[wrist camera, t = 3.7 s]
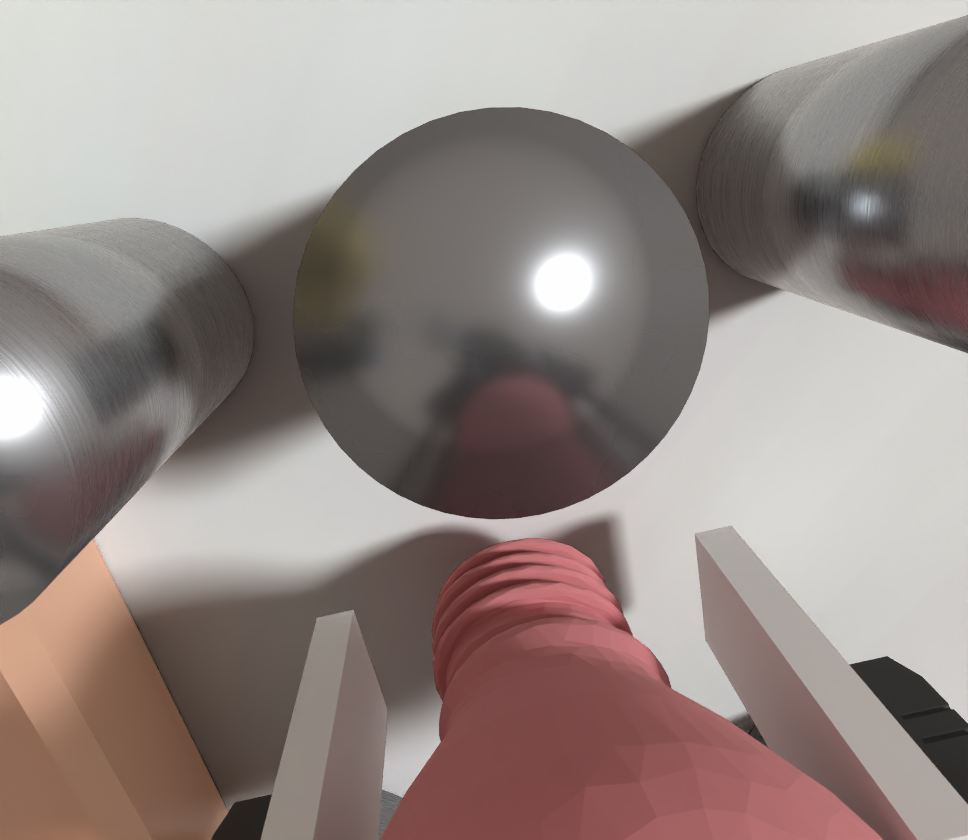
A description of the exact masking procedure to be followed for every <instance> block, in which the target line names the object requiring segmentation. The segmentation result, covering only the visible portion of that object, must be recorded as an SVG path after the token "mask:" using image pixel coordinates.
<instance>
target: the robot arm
mask: <svg viewBox="0 0 968 840" xmlns="http://www.w3.org/2000/svg"><path fill="white" fill-rule="evenodd" d="M695 541H696V550H697V560H698V570H699V579H700V589H701V599H702V609H703V618H704V628H705V638H706V641H707V643H708V645H709V647H710V648H711V650H712V652H713V653H714V655H715V657H716V659H717V660H718V662H719V664H720V665H721V667H722V669H723V670H724V672H725V674H726V676H727V677H728V679H729V681H730V682H731V684H732V686H733V688H734V689H735V691H736V693H737V694H738V696H739V698H740V699H741V701H742V703H743V705H744V706H745V708H746V710H747V711H748V713H749V715H750V717H751V718H752V720H753V722H754V723H755V725H756V727H757V728H758V730H759V732H760V734H761V735H762V737H763V739H764V740H765V742H766V744H767V746H768V747H769V749H770V750H772V751H773V752H775V753H776V754H778V755H779V756H780V757H782V758H783V759H785V760H786V761H788V762H789V763H791V764H792V765H793V766H795V767H796V768H798V769H799V770H801V771H802V772H803V773H805V774H806V775H808V776H809V777H811V778H812V779H814V780H815V781H816V782H818V783H819V784H821V785H822V786H824V787H825V788H827V789H828V790H829V791H831V792H832V793H833V794H834V795H835V796H836V797H838V798H839V799H840V800H841V801H842V802H843V803H844V804H845V805H846V806H848V807H849V808H850V809H851V810H852V811H853V812H854V813H855V814H856V815H858V816H859V817H860V818H861V819H862V820H863V821H864V822H865V823H866V824H868V825H869V826H870V827H871V828H872V829H873V830H874V831H875V832H876V833H877V834H878V835H879V836H880V837H881V838H882V839H883V840H968V723H967V722H966V721H965V720H964V719H963V718H962V717H961V716H960V715H959V714H958V713H957V712H956V711H955V710H954V709H953V710H951V709H950V707H949V704H948V703H947V702H946V701H945V700H944V699H943V698H942V697H941V696H940V695H939V694H938V693H937V692H936V690H935V689H934V688H933V687H932V686H931V685H930V684H929V683H928V682H927V681H926V680H925V679H924V678H923V677H922V676H920V675H918V674H917V673H915V672H913V671H911V670H910V669H908V668H906V667H905V666H903V665H901V664H899V663H898V662H896V661H894V660H893V659H891V658H889V657H887V656H886V657H882V658H877V659H873V660H868V661H863V662H859V663H854V664H850V665H849V664H848V663H847V662H846V660H845V659H844V658H843V657H842V656H841V654H840V653H839V652H838V651H837V650H836V649H835V647H834V646H833V645H832V644H831V643H830V641H829V640H828V639H827V638H826V637H825V636H824V634H823V633H822V632H821V631H820V630H819V628H818V627H817V626H816V625H815V624H814V623H813V621H812V620H811V619H810V618H809V617H808V615H807V614H806V613H805V612H804V611H803V610H802V608H801V607H800V606H799V605H798V604H797V603H796V601H795V600H794V599H793V598H792V597H791V595H790V594H789V593H788V592H787V591H786V590H785V588H784V587H783V586H782V585H781V584H780V582H779V581H778V580H777V579H776V578H775V577H774V575H773V574H772V573H771V572H770V571H769V569H768V568H767V567H766V566H765V565H764V564H763V562H762V561H761V560H760V559H759V558H758V557H757V555H756V554H755V553H754V552H753V551H752V549H751V548H750V547H749V546H748V545H747V544H746V542H745V541H744V540H743V539H742V538H741V536H740V535H739V534H738V533H737V532H736V531H735V529H734V528H733V527H732V526H728V527H724V528H719V529H715V530H710V531H706V532H701V533H696V534H695ZM387 717H388V709H387V706H386V703H385V700H384V697H383V695H382V692H381V689H380V686H379V683H378V680H377V677H376V674H375V671H374V668H373V665H372V662H371V660H370V657H369V654H368V651H367V648H366V645H365V642H364V639H363V636H362V633H361V630H360V627H359V624H358V622H357V619H356V616H355V613H354V610H350V611H345V612H341V613H336V614H332V615H327V616H323V617H318V618H317V619H316V623H315V627H314V631H313V635H312V639H311V643H310V647H309V651H308V655H307V659H306V663H305V667H304V671H303V675H302V679H301V682H300V686H299V690H298V694H297V698H296V702H295V706H294V710H293V714H292V718H291V722H290V726H289V730H288V734H287V738H286V741H285V745H284V749H283V753H282V757H281V761H280V765H279V769H278V773H277V777H276V781H275V785H274V789H273V793H272V794H271V795H267V796H262V797H258V798H253V799H249V800H244V801H240V802H235V803H234V805H233V806H232V808H231V809H230V811H229V812H228V814H227V815H226V817H225V818H224V820H223V821H222V822H221V824H220V825H219V827H218V828H217V830H216V831H215V833H214V834H213V836H212V839H211V840H378V831H379V819H380V806H381V793H382V781H383V768H384V755H385V742H386V730H387Z"/></svg>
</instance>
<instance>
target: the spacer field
mask: <svg viewBox="0 0 968 840" xmlns="http://www.w3.org/2000/svg"><path fill="white" fill-rule="evenodd" d="M697 207H698V213H699V218H700V221H701V225H702V228H703V231H704V233H705V235H706V238H707V240H708V242H709V243H710V245H711V246H712V248H713V250H714V251H715V252H716V253H717V255H718V256H719V257H720V258H721V259H722V260H723V261H724V262H725V263H726V264H727V265H728V266H730V267H731V268H732V269H734V270H735V271H737V272H738V273H740V274H742V275H744V276H746V277H749V278H751V279H754V280H756V281H759V282H762V283H765V284H768V285H771V286H774V287H777V288H780V289H783V290H786V291H788V292H791V293H794V294H797V295H800V296H803V297H806V298H809V299H812V300H815V301H818V302H820V303H823V304H826V305H829V306H832V307H835V308H838V309H841V310H844V311H847V312H850V313H852V314H855V315H858V316H861V317H864V318H867V319H870V320H873V321H876V322H879V323H882V324H884V325H887V326H890V327H893V328H896V329H899V330H902V331H905V332H908V333H911V334H914V335H916V336H919V337H922V338H925V339H928V340H931V341H934V342H937V343H940V344H943V345H946V346H948V347H951V348H954V349H957V350H960V351H963V352H966V353H968V15H967V16H964V17H960V18H957V19H953V20H950V21H947V22H943V23H940V24H937V25H933V26H930V27H926V28H923V29H920V30H916V31H913V32H909V33H906V34H903V35H899V36H896V37H893V38H889V39H886V40H882V41H879V42H876V43H872V44H869V45H866V46H862V47H859V48H855V49H852V50H849V51H845V52H842V53H838V54H835V55H832V56H828V57H825V58H822V59H818V60H815V61H811V62H808V63H805V64H801V65H798V66H794V67H791V68H788V69H784V70H781V71H779V72H776V73H774V74H772V75H770V76H768V77H766V78H764V79H762V80H761V81H759V82H758V83H756V84H754V85H753V86H752V87H750V88H749V89H748V90H747V91H745V92H744V93H743V94H742V95H741V96H740V97H739V98H738V99H737V100H736V101H735V102H734V103H733V104H732V105H731V106H730V107H729V108H728V110H727V111H726V112H725V113H724V115H723V116H722V117H721V119H720V120H719V122H718V123H717V125H716V127H715V128H714V130H713V132H712V134H711V136H710V138H709V140H708V142H707V144H706V147H705V150H704V153H703V156H702V159H701V163H700V167H699V172H698V179H697ZM708 323H709V290H708V284H707V277H706V270H705V264H704V261H703V257H702V254H701V251H700V247H699V244H698V240H697V237H696V235H695V233H694V231H693V228H692V226H691V224H690V222H689V220H688V217H687V215H686V213H685V211H684V210H683V208H682V207H681V205H680V203H679V202H678V200H677V199H676V197H675V195H674V194H673V192H672V191H671V189H670V188H669V187H668V186H667V184H666V183H665V182H664V181H663V180H662V179H661V177H660V176H659V175H658V174H657V173H656V172H655V170H654V169H653V168H652V167H651V166H650V165H649V164H648V163H646V162H645V161H644V160H643V159H642V158H641V157H640V156H638V155H637V154H636V153H635V152H634V151H633V150H632V149H630V148H629V147H627V146H626V145H624V144H623V143H621V142H620V141H618V140H617V139H615V138H614V137H612V136H611V135H609V134H607V133H606V132H604V131H602V130H599V129H597V128H595V127H593V126H591V125H589V124H586V123H584V122H582V121H580V120H577V119H574V118H570V117H567V116H563V115H560V114H557V113H553V112H549V111H542V110H535V109H528V108H521V107H515V108H484V109H478V110H471V111H464V112H459V113H455V114H452V115H449V116H445V117H442V118H439V119H436V120H432V121H429V122H427V123H425V124H423V125H421V126H419V127H417V128H414V129H412V130H410V131H408V132H406V133H404V134H402V135H400V136H399V137H397V138H396V139H394V140H393V141H391V142H390V143H388V144H387V145H385V146H384V147H382V148H380V149H379V150H377V151H376V152H375V153H374V154H373V155H372V156H371V157H369V158H368V159H367V160H366V161H365V162H364V163H363V164H361V165H360V166H359V167H358V168H357V169H356V170H355V171H354V172H353V173H352V174H351V175H350V176H349V177H348V179H347V180H346V181H345V182H344V183H343V184H342V186H341V187H340V188H339V189H338V190H337V191H336V193H335V194H334V195H333V197H332V199H331V200H330V202H329V203H328V205H327V206H326V208H325V209H324V211H323V213H322V214H321V216H320V217H319V219H318V221H317V223H316V226H315V228H314V230H313V232H312V234H311V236H310V239H309V241H308V243H307V245H306V249H305V252H304V255H303V258H302V262H301V265H300V268H299V272H298V277H297V284H296V290H295V296H294V320H293V329H294V338H295V347H296V355H297V359H298V363H299V367H300V371H301V375H302V379H303V382H304V384H305V387H306V389H307V392H308V394H309V397H310V399H311V402H312V404H313V406H314V408H315V410H316V412H317V413H318V415H319V417H320V419H321V421H322V422H323V424H324V426H325V428H326V429H327V430H328V432H329V433H330V434H331V436H332V437H333V438H334V440H335V441H336V442H337V444H338V445H339V447H340V448H341V449H342V450H343V451H344V452H345V453H346V454H347V455H348V456H349V457H350V458H351V459H352V460H353V461H354V462H355V463H356V464H357V466H359V467H360V468H361V469H362V470H364V471H365V472H366V473H367V474H368V475H370V476H371V477H372V478H373V479H375V480H376V481H377V482H379V483H380V484H382V485H384V486H385V487H387V488H388V489H390V490H392V491H393V492H395V493H396V494H398V495H400V496H402V497H404V498H407V499H409V500H411V501H413V502H415V503H417V504H420V505H422V506H425V507H428V508H431V509H435V510H438V511H441V512H444V513H449V514H454V515H459V516H464V517H471V518H484V519H509V518H521V517H527V516H534V515H540V514H544V513H548V512H551V511H555V510H559V509H562V508H565V507H568V506H570V505H573V504H575V503H578V502H580V501H583V500H585V499H587V498H589V497H591V496H593V495H595V494H597V493H598V492H600V491H602V490H604V489H606V488H608V487H609V486H611V485H612V484H614V483H615V482H616V481H618V480H619V479H621V478H622V477H624V476H625V475H626V474H628V473H629V472H630V471H631V470H632V469H634V468H635V467H636V466H637V465H638V464H639V463H640V462H641V461H643V460H644V459H645V458H646V457H647V456H648V455H649V454H650V453H651V452H652V450H653V449H654V448H655V447H656V446H657V445H658V444H659V443H660V441H661V440H662V439H663V438H664V437H665V435H666V434H667V433H668V431H669V430H670V428H671V427H672V425H673V424H674V422H675V421H676V420H677V418H678V417H679V415H680V413H681V411H682V409H683V407H684V405H685V404H686V402H687V400H688V398H689V396H690V394H691V392H692V389H693V386H694V384H695V381H696V379H697V376H698V373H699V371H700V367H701V363H702V359H703V355H704V351H705V347H706V341H707V332H708ZM253 343H254V326H253V318H252V313H251V309H250V306H249V302H248V300H247V297H246V295H245V292H244V290H243V288H242V286H241V284H240V283H239V281H238V279H237V277H236V276H235V274H234V273H233V272H232V270H231V269H230V268H229V266H228V265H227V264H226V263H225V262H224V260H223V259H222V258H221V257H220V256H219V255H218V254H217V253H216V252H215V251H213V250H212V249H211V248H210V247H209V246H208V245H206V244H205V243H204V242H202V241H201V240H199V239H198V238H196V237H195V236H193V235H191V234H189V233H187V232H185V231H183V230H181V229H179V228H177V227H174V226H171V225H169V224H166V223H162V222H158V221H154V220H148V219H140V218H122V219H115V220H108V221H101V222H95V223H88V224H81V225H74V226H68V227H61V228H54V229H47V230H41V231H34V232H27V233H20V234H14V235H7V236H0V625H1V624H3V623H4V622H6V621H8V620H10V619H11V618H13V617H15V616H16V615H18V614H19V613H20V612H22V611H23V610H24V609H25V608H26V607H28V606H29V605H30V604H31V603H33V602H34V601H35V600H36V599H37V598H38V597H39V595H40V594H41V593H42V592H43V591H44V590H45V589H46V588H47V587H48V586H49V585H50V584H51V583H52V582H53V581H54V580H55V578H56V577H57V576H58V575H59V574H60V573H61V572H62V571H63V570H64V569H65V568H66V567H67V566H68V565H69V564H70V563H71V562H72V560H73V559H74V558H75V557H76V556H77V555H78V554H79V553H80V552H81V551H82V550H83V549H84V548H85V547H86V546H87V545H88V544H89V542H90V541H91V540H92V539H93V538H94V537H95V536H96V535H97V534H98V533H99V532H100V531H101V530H102V529H103V528H104V527H105V525H106V524H107V523H108V522H109V521H110V520H111V519H112V518H113V517H114V516H115V515H116V514H117V513H118V512H119V511H120V510H121V509H122V507H123V506H124V505H125V504H126V503H127V502H128V501H129V500H130V499H131V498H132V497H133V496H134V495H135V494H136V493H137V492H138V490H139V489H140V488H141V487H142V486H143V485H144V484H145V483H146V482H147V481H148V480H149V479H150V478H151V477H152V476H153V475H154V474H155V472H156V471H157V470H158V469H159V468H160V467H161V466H162V465H163V464H164V463H165V462H166V461H167V460H168V459H169V458H170V457H171V456H172V454H173V453H174V452H175V451H176V450H177V449H178V448H179V447H180V446H181V445H182V444H183V443H184V442H185V441H186V440H187V439H188V437H189V436H190V435H191V434H192V433H193V432H194V431H195V430H196V429H197V428H198V427H199V426H200V425H201V424H202V423H203V422H204V421H205V419H206V418H207V417H208V416H209V415H210V414H211V413H212V412H213V411H214V410H215V409H216V408H217V407H218V406H219V405H220V404H221V402H222V401H223V400H224V399H225V398H226V397H227V396H228V395H229V394H230V393H231V392H232V391H233V390H234V388H235V387H236V386H237V385H238V383H239V382H240V380H241V379H242V377H243V376H244V374H245V372H246V369H247V367H248V365H249V362H250V358H251V355H252V350H253ZM750 736H752V737H753V738H755V739H756V740H757V741H759V742H760V743H762V744H763V745H765V746H766V747H767V748H769V747H768V746H767V744H766V742H765V740H764V739H763V737H762V735H761V734H760V732H759V730H758V728H757V727H756V725H755V727H754V728H753V730H752V731H751V733H750ZM401 800H402V798H400V797H398V796H396V795H394V794H391V793H388V792H385V791H382V793H381V806H380V819H379V831H378V840H380V838H381V836H382V834H383V833H384V831H385V829H386V827H387V825H388V824H389V822H390V820H391V818H392V816H393V815H394V813H395V811H396V809H397V807H398V806H399V804H400V802H401Z"/></svg>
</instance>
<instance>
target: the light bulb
mask: <svg viewBox="0 0 968 840" xmlns="http://www.w3.org/2000/svg"><path fill="white" fill-rule="evenodd" d="M432 636H433V643H432V647H433V655H434V661H433V669H434V680H435V684H436V689H437V691H438V693H439V695H440V697H441V699H442V701H443V703H442V708H441V713H440V720H439V736H440V740H441V743H440V744H439V746H438V747H437V749H436V750H435V752H434V753H433V754H432V756H431V757H430V759H429V760H428V762H427V763H426V765H425V766H424V767H423V769H422V770H421V772H420V773H419V775H418V776H417V777H416V779H415V780H414V782H413V783H412V785H411V786H410V788H409V789H408V790H407V792H406V794H405V795H404V797H403V799H402V800H401V802H400V804H399V806H398V807H397V809H396V811H395V813H394V815H393V816H392V818H391V820H390V822H389V824H388V825H387V827H386V829H385V831H384V833H383V834H382V836H381V838H380V840H883V839H882V838H881V837H880V836H879V835H878V834H877V833H876V832H875V831H874V830H873V829H872V828H871V827H870V826H869V825H868V824H866V823H865V822H864V821H863V820H862V819H861V818H860V817H859V816H858V815H856V814H855V813H854V812H853V811H852V810H851V809H850V808H849V807H848V806H846V805H845V804H844V803H843V802H842V801H841V800H840V799H839V798H838V797H836V796H835V795H834V794H833V793H832V792H831V791H829V790H828V789H827V788H825V787H824V786H822V785H821V784H819V783H818V782H816V781H815V780H814V779H812V778H811V777H809V776H808V775H806V774H805V773H803V772H802V771H801V770H799V769H798V768H796V767H795V766H793V765H792V764H791V763H789V762H788V761H786V760H785V759H783V758H782V757H780V756H779V755H778V754H776V753H775V752H773V751H772V750H770V749H769V748H767V747H766V746H765V745H763V744H762V743H760V742H759V741H757V740H756V739H755V738H753V737H752V736H750V735H749V734H747V733H746V732H744V731H743V730H742V729H740V728H739V727H737V726H736V725H734V724H733V723H731V722H730V721H728V720H727V719H725V718H723V717H722V716H720V715H718V714H716V713H714V712H713V711H711V710H709V709H707V708H705V707H703V706H702V705H700V704H698V703H696V702H694V701H693V700H691V699H689V698H687V697H685V696H684V695H682V694H680V693H678V692H676V691H674V690H673V689H671V685H670V682H669V678H668V675H667V674H666V672H665V670H664V668H663V667H662V665H661V663H660V662H659V661H658V659H657V658H656V657H655V655H654V654H653V653H652V651H651V650H650V649H649V648H647V647H646V646H645V645H643V644H642V643H641V642H639V641H638V640H637V639H635V638H634V637H633V635H632V632H631V630H630V628H629V625H628V623H627V621H626V619H625V617H624V615H623V611H622V609H621V606H620V604H619V602H618V600H617V599H616V597H615V596H614V595H613V594H612V593H611V592H610V591H609V590H608V588H607V586H606V585H605V581H604V578H603V576H602V574H601V572H600V571H599V570H598V568H597V567H596V566H595V564H594V563H593V561H592V560H591V559H590V558H589V557H587V556H586V555H584V554H583V553H581V552H580V551H578V550H576V549H575V548H573V547H572V546H569V545H566V544H563V543H559V542H555V541H552V540H548V539H536V538H526V539H520V540H513V541H507V542H503V543H499V544H496V545H494V546H491V547H488V548H486V549H483V550H482V551H480V552H478V553H477V554H475V555H473V556H472V557H470V558H469V559H467V560H465V561H464V562H463V563H462V564H461V565H459V566H458V567H457V568H456V569H455V570H454V571H453V573H452V574H451V576H450V577H449V578H448V580H447V582H446V583H445V585H444V586H443V588H442V589H441V591H440V595H439V599H438V603H437V607H436V611H435V613H434V618H433V625H432Z"/></svg>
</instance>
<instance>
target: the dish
mask: <svg viewBox="0 0 968 840" xmlns="http://www.w3.org/2000/svg"><path fill="white" fill-rule="evenodd" d="M227 814H228V810H227V808H226V806H225V804H224V802H223V800H222V798H221V796H220V794H219V792H218V790H217V788H216V786H215V784H214V782H213V780H212V778H211V776H210V774H209V772H208V770H207V768H206V766H205V764H204V762H203V759H202V757H201V755H200V753H199V751H198V749H197V747H196V745H195V743H194V741H193V739H192V737H191V735H190V733H189V731H188V729H187V727H186V725H185V723H184V721H183V719H182V717H181V715H180V713H179V711H178V709H177V707H176V705H175V703H174V701H173V699H172V697H171V695H170V693H169V691H168V689H167V687H166V685H165V683H164V681H163V679H162V677H161V675H160V673H159V670H158V668H157V666H156V664H155V662H154V660H153V658H152V656H151V654H150V652H149V650H148V648H147V646H146V644H145V642H144V640H143V638H142V636H141V634H140V632H139V630H138V628H137V626H136V624H135V622H134V620H133V618H132V616H131V614H130V612H129V610H128V608H127V606H126V604H125V602H124V600H123V598H122V596H121V594H120V592H119V590H118V588H117V586H116V583H115V581H114V579H113V577H112V575H111V573H110V571H109V569H108V567H107V565H106V563H105V561H104V559H103V557H102V555H101V553H100V551H99V549H98V547H97V545H96V543H95V541H94V539H92V540H91V541H90V542H89V544H88V545H87V546H86V547H85V548H84V549H83V550H82V551H81V552H80V553H79V554H78V555H77V556H76V557H75V558H74V559H73V560H72V562H71V563H70V564H69V565H68V566H67V567H66V568H65V569H64V570H63V571H62V572H61V573H60V574H59V575H58V576H57V577H56V578H55V580H54V581H53V582H52V583H51V584H50V585H49V586H48V587H47V588H46V589H45V590H44V591H43V592H42V593H41V594H40V595H39V597H38V598H37V599H36V600H35V601H34V602H33V603H31V604H30V605H29V606H28V607H26V608H25V609H24V610H23V611H22V612H20V613H19V614H18V615H16V616H15V617H13V618H11V619H10V620H8V621H6V622H4V623H3V624H1V625H0V840H211V839H212V836H213V834H214V833H215V831H216V830H217V828H218V827H219V825H220V824H221V822H222V821H223V820H224V818H225V817H226V815H227Z"/></svg>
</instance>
